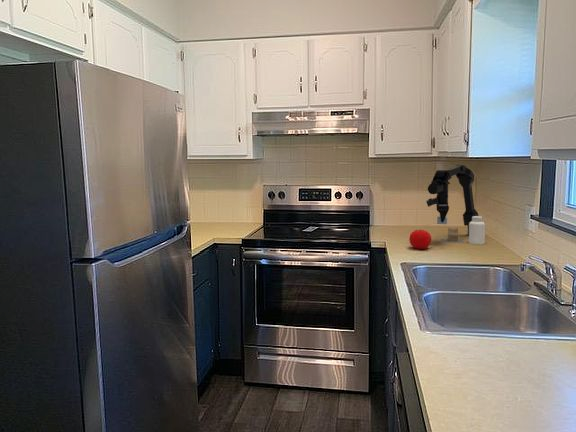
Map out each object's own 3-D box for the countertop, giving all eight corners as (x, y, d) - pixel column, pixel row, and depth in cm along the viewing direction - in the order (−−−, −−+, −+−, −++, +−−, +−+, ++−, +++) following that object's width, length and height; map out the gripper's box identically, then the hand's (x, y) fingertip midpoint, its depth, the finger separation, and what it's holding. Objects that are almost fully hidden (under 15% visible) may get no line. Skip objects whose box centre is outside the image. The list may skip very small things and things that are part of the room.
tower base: (447, 239, 266) (448, 233, 265) (457, 239, 264) (457, 233, 264) (448, 241, 261) (448, 234, 260) (457, 241, 259) (457, 235, 259)
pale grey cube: (437, 222, 258) (437, 216, 258) (446, 222, 256) (447, 216, 256) (437, 224, 253) (437, 217, 253) (446, 224, 252) (446, 217, 251)
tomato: (417, 251, 237) (417, 231, 236) (404, 247, 249) (404, 228, 248) (436, 249, 240) (436, 230, 239) (423, 245, 252) (423, 227, 251)
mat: (440, 239, 270) (440, 238, 270) (462, 240, 266) (462, 239, 266) (440, 242, 259) (440, 241, 259) (463, 243, 256) (463, 242, 256)
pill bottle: (483, 242, 256) (484, 215, 254) (485, 245, 249) (486, 217, 247) (467, 242, 258) (468, 215, 257) (469, 245, 251) (470, 217, 249)
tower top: (448, 233, 265) (448, 227, 265) (457, 233, 264) (457, 227, 263) (448, 234, 260) (448, 228, 260) (457, 235, 259) (457, 228, 258)
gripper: (427, 191, 264) (427, 219, 266) (426, 194, 246) (426, 223, 248) (448, 191, 261) (447, 219, 263) (449, 194, 243) (448, 223, 245)
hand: (442, 221), depth 255 cm, fingers closed on pale grey cube, 5 cm apart
